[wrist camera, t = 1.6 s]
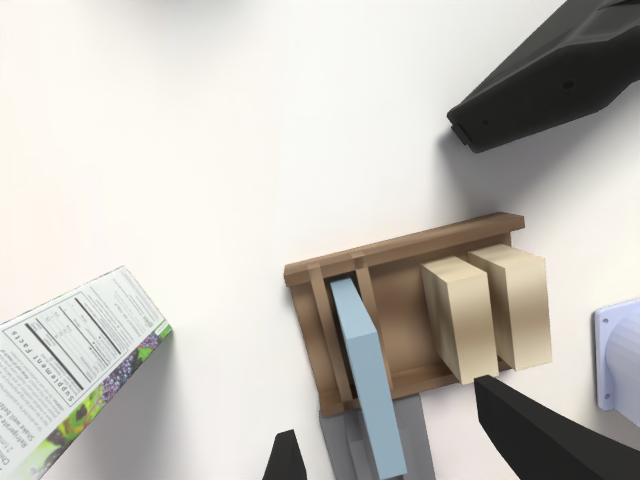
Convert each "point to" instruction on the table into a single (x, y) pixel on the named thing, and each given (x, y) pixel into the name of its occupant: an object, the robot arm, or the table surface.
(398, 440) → the tall board
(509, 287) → the offcut
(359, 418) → the holder
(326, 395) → the rack
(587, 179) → the table surface
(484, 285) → the offcut
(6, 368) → the syrup box
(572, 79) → the magazine
